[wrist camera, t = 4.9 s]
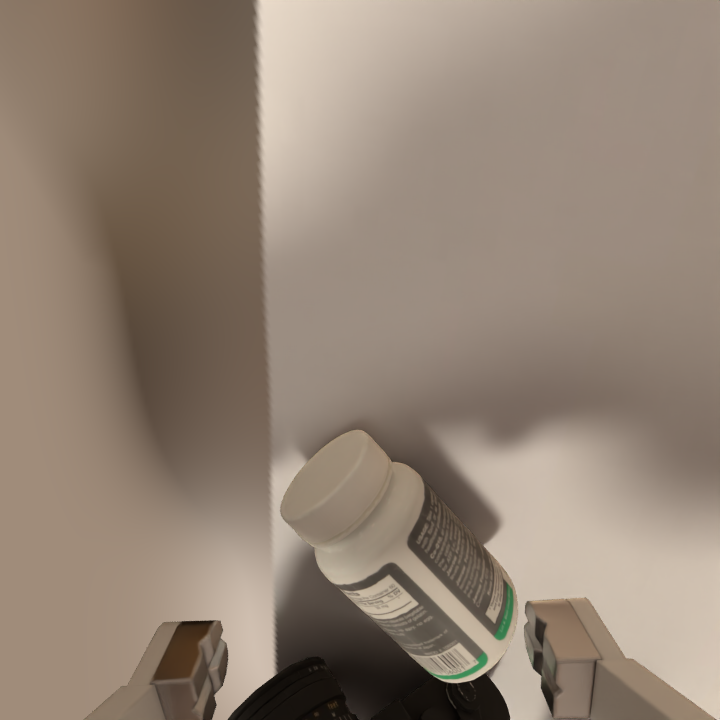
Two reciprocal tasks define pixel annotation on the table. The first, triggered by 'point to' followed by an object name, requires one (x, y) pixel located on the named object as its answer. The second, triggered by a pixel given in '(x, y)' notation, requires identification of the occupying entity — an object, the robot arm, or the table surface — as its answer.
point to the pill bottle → (403, 557)
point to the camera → (410, 716)
